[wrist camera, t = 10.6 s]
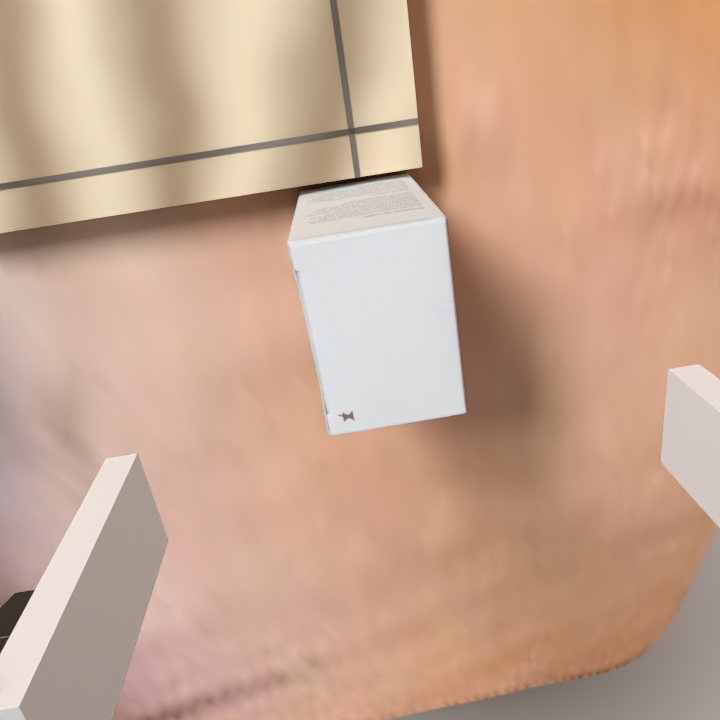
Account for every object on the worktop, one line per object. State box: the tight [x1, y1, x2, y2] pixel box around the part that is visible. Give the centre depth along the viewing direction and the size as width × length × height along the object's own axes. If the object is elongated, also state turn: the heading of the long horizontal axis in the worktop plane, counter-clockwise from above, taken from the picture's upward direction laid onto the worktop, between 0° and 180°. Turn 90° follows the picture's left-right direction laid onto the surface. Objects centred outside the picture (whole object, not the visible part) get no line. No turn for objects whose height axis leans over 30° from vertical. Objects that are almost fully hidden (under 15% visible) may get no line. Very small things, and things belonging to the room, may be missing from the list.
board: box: [0, 0, 422, 233], centre depth 26 cm, size 22×12×2 cm, turn 98°
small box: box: [287, 173, 468, 436], centre depth 27 cm, size 8×6×10 cm
